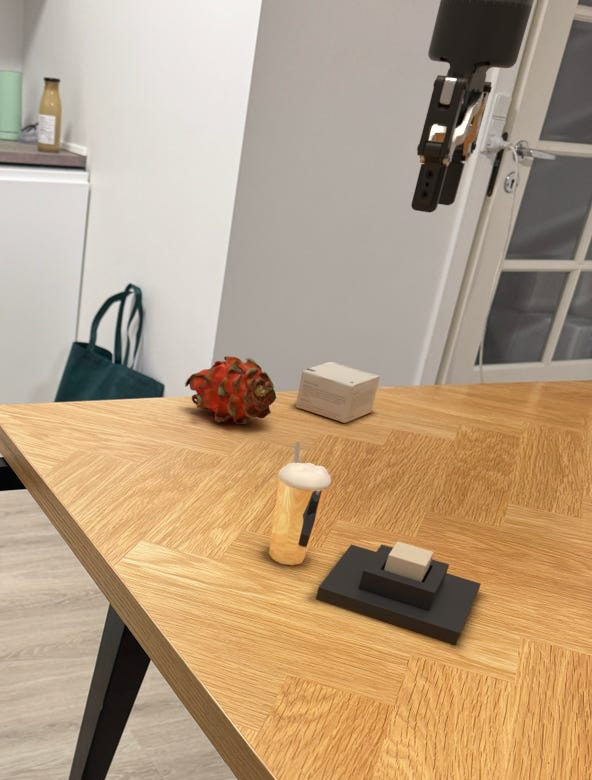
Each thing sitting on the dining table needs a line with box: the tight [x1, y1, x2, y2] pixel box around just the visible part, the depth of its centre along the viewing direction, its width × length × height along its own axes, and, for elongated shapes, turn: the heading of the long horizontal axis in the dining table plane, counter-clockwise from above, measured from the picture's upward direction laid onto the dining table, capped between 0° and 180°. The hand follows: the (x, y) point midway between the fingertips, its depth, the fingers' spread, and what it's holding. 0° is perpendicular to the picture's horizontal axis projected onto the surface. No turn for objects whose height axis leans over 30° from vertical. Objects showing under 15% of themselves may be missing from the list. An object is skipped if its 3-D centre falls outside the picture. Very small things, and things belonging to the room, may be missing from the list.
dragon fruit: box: [183, 355, 277, 425], centre depth 112 cm, size 8×8×12 cm
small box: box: [295, 361, 381, 424], centre depth 119 cm, size 8×8×5 cm
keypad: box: [315, 544, 482, 646], centre depth 78 cm, size 12×10×3 cm
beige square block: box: [384, 541, 434, 582], centre depth 77 cm, size 3×3×2 cm
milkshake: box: [268, 442, 332, 566], centre depth 80 cm, size 5×5×10 cm
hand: (432, 207), depth 85 cm, fingers open, 8 cm apart
